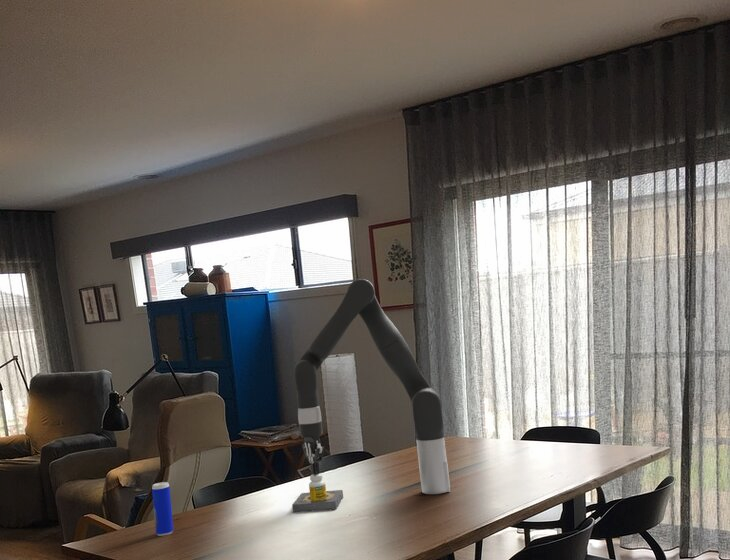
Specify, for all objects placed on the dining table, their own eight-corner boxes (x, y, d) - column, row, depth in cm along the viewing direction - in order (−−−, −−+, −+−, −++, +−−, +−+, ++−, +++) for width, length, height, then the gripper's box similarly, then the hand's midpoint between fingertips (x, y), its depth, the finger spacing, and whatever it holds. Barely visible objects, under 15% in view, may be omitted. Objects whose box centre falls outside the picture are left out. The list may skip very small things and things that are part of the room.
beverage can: (158, 532, 215) (153, 483, 216) (175, 529, 215) (170, 480, 216) (154, 537, 210) (149, 486, 210) (171, 534, 210) (167, 484, 211)
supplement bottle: (322, 501, 230) (319, 472, 230) (330, 504, 225) (327, 474, 226) (308, 505, 227) (305, 475, 227) (316, 508, 222) (312, 478, 223)
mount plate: (343, 497, 232) (342, 489, 233) (336, 509, 218) (335, 501, 219) (302, 500, 234) (301, 493, 234) (292, 512, 220) (292, 504, 220)
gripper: (329, 420, 224) (335, 474, 223) (311, 417, 235) (317, 469, 234) (308, 424, 220) (314, 479, 219) (291, 421, 232) (296, 473, 231)
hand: (315, 474), depth 227 cm, fingers closed
